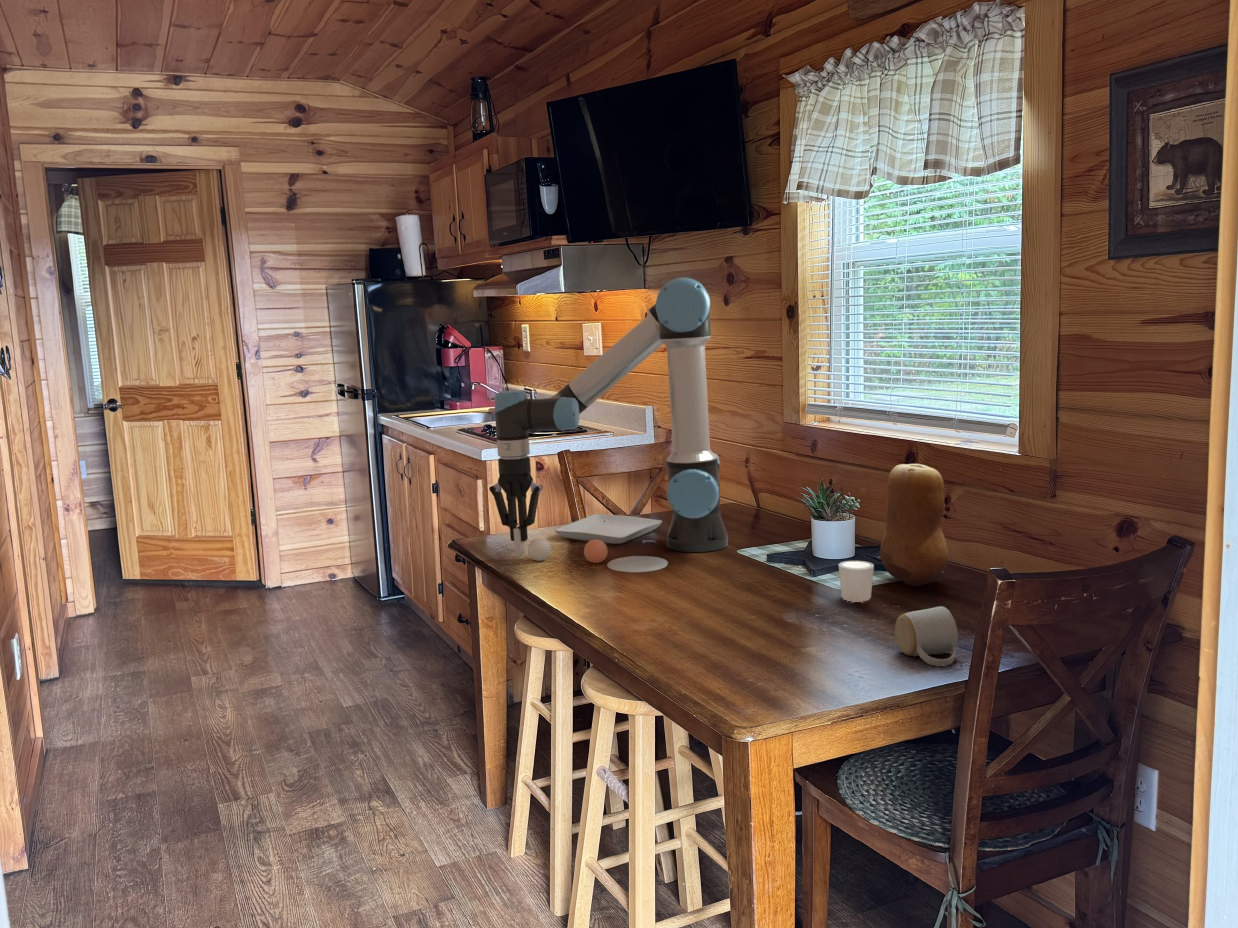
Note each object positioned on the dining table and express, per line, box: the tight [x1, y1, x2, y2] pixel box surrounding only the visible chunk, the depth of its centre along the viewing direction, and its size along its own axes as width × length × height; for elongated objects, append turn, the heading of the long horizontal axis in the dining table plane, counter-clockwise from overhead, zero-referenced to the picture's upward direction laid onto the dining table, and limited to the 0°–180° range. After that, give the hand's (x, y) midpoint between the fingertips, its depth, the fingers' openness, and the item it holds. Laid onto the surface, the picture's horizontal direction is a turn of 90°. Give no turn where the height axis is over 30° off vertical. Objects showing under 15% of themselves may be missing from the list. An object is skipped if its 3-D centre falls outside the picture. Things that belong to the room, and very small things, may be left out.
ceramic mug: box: [894, 606, 959, 667], centre depth 165 cm, size 11×8×8 cm
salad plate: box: [554, 513, 663, 545], centre depth 261 cm, size 21×21×3 cm
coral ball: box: [583, 539, 609, 564], centre depth 233 cm, size 6×6×6 cm
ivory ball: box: [527, 537, 552, 562], centre depth 237 cm, size 6×6×6 cm
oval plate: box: [607, 555, 669, 573], centre depth 231 cm, size 14×14×1 cm
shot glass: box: [838, 560, 875, 603], centre depth 198 cm, size 7×7×7 cm
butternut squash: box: [879, 463, 949, 587], centre depth 206 cm, size 14×13×25 cm
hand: (520, 554), depth 239 cm, fingers closed
